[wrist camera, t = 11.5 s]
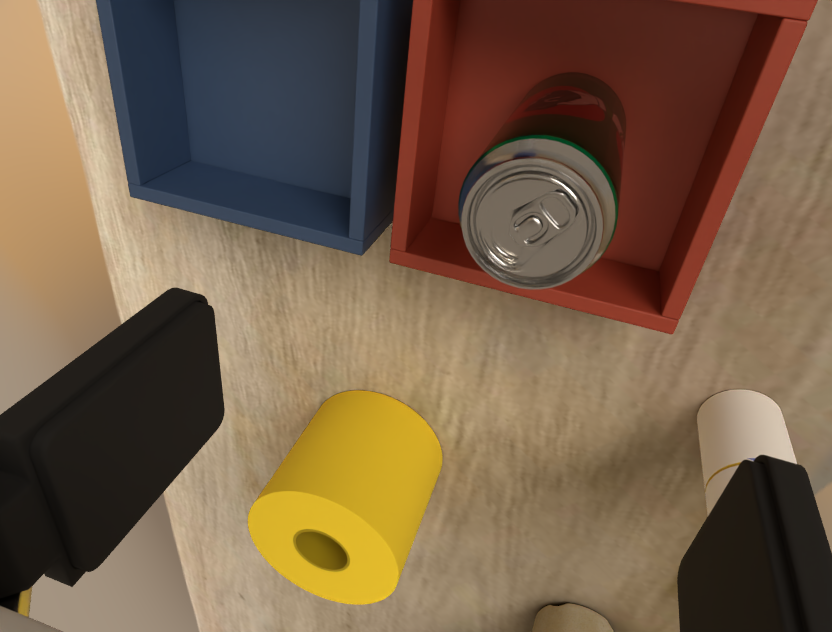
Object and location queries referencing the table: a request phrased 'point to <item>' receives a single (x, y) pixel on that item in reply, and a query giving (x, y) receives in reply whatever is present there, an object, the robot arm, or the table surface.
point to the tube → (738, 436)
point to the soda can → (547, 184)
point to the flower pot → (569, 619)
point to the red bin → (645, 128)
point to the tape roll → (349, 498)
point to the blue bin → (263, 110)
